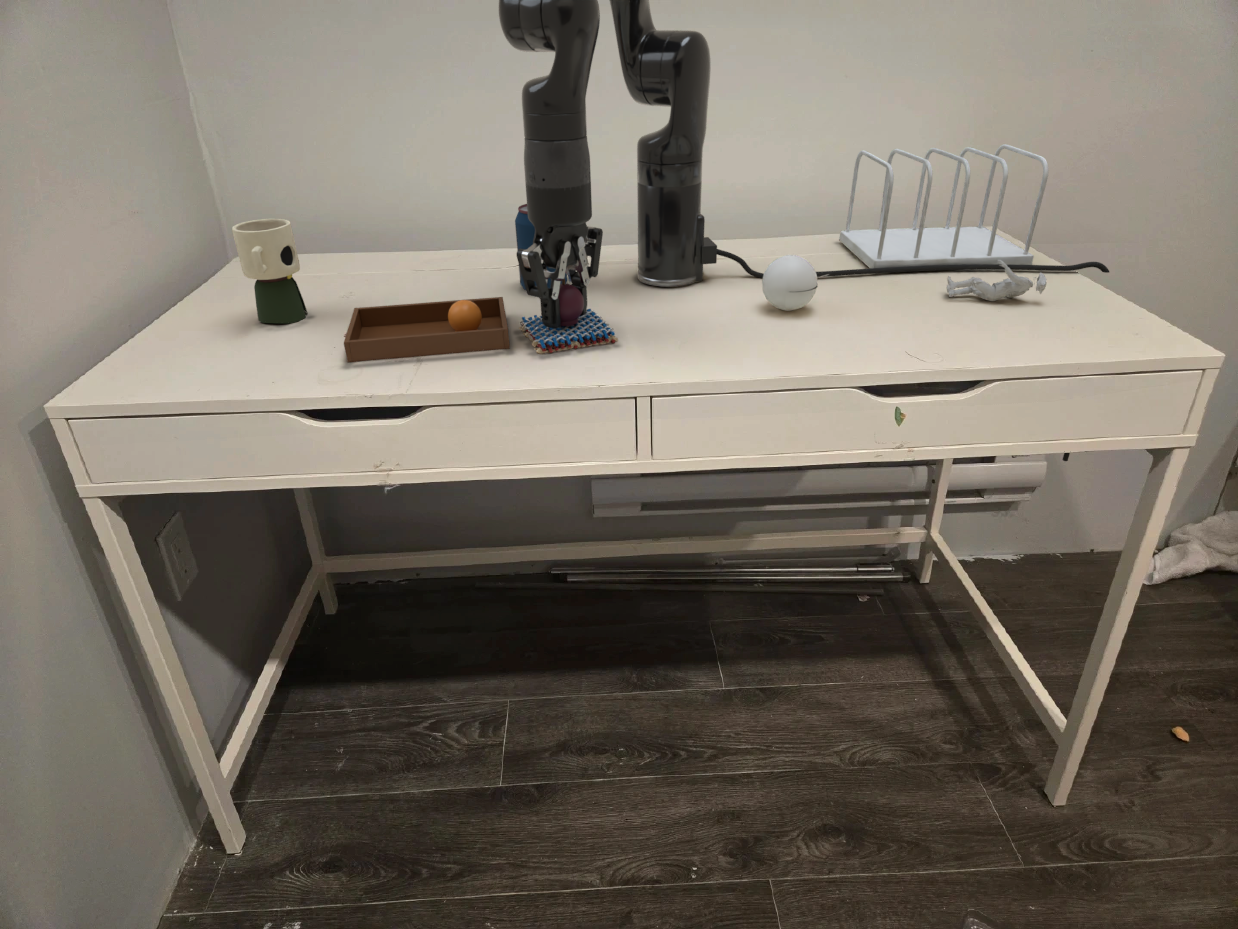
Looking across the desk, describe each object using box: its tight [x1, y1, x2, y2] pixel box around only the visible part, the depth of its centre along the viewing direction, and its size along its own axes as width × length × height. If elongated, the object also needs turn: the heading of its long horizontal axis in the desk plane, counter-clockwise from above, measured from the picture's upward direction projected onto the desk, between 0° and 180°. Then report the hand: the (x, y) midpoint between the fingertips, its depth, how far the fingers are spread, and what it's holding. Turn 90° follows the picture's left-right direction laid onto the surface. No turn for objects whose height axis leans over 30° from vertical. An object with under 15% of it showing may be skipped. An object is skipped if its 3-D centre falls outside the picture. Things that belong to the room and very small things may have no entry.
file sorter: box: [838, 143, 1050, 269], centre depth 127 cm, size 25×17×16 cm
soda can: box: [514, 203, 568, 291], centre depth 117 cm, size 7×7×12 cm
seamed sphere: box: [761, 254, 829, 312], centre depth 109 cm, size 10×7×7 cm
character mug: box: [231, 218, 309, 325], centre depth 107 cm, size 11×7×13 cm, turn 7°
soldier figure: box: [946, 260, 1048, 302], centre depth 111 cm, size 8×5×12 cm
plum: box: [558, 278, 584, 326], centre depth 100 cm, size 5×5×6 cm
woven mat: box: [518, 308, 619, 355], centre depth 102 cm, size 10×11×2 cm
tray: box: [343, 296, 511, 363], centre depth 102 cm, size 19×12×3 cm, turn 100°
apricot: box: [448, 299, 482, 332], centre depth 103 cm, size 4×4×4 cm
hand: (565, 319), depth 101 cm, fingers closed on plum, 4 cm apart
